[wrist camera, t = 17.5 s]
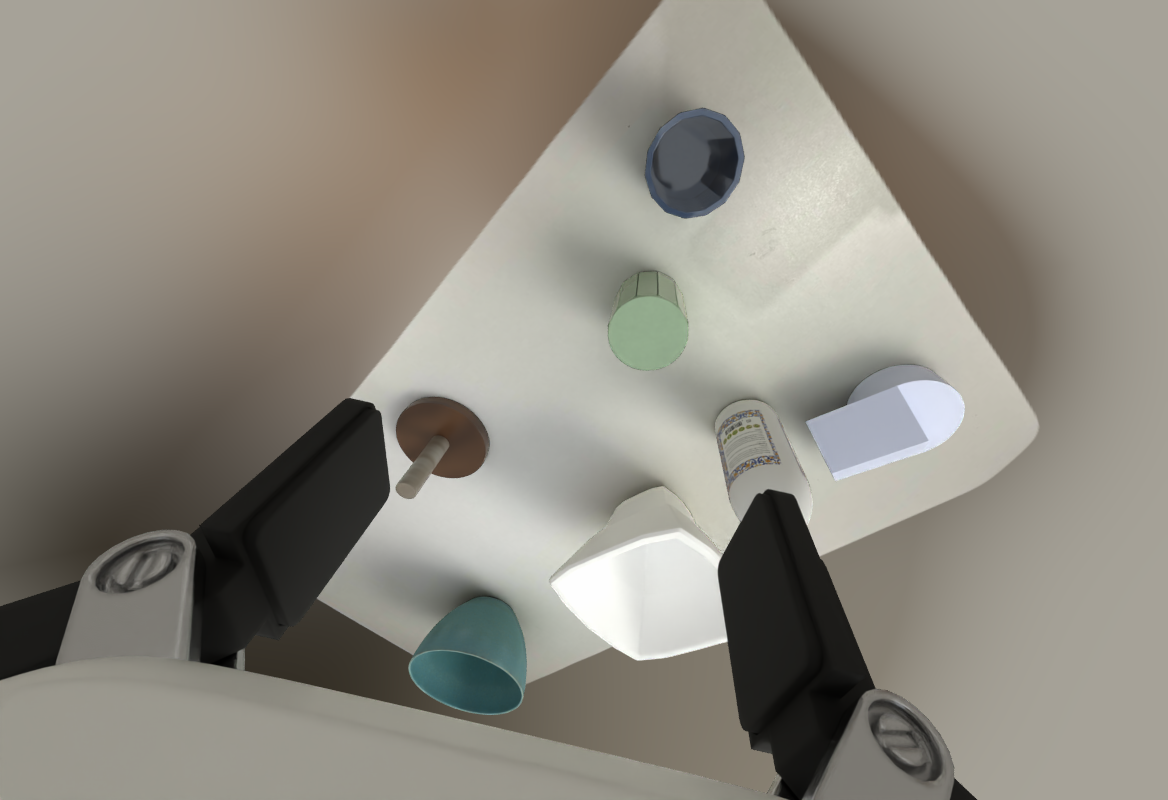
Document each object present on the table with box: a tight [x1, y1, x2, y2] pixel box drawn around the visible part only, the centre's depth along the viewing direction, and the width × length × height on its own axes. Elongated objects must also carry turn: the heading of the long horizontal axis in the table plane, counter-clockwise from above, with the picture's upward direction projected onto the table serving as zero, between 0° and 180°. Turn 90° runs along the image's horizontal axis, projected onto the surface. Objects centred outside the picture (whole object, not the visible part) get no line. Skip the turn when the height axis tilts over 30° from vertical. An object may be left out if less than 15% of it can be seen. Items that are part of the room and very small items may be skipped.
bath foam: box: [715, 400, 813, 525], centre depth 40 cm, size 7×7×20 cm
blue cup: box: [645, 108, 745, 219], centre depth 32 cm, size 6×6×9 cm
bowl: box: [549, 486, 728, 660], centre depth 51 cm, size 19×19×14 cm
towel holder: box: [396, 397, 489, 499], centre depth 51 cm, size 12×12×10 cm
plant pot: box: [409, 597, 527, 715], centre depth 70 cm, size 18×18×12 cm
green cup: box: [608, 271, 688, 371], centre depth 40 cm, size 7×7×8 cm
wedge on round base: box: [805, 364, 965, 481], centre depth 43 cm, size 9×7×13 cm
